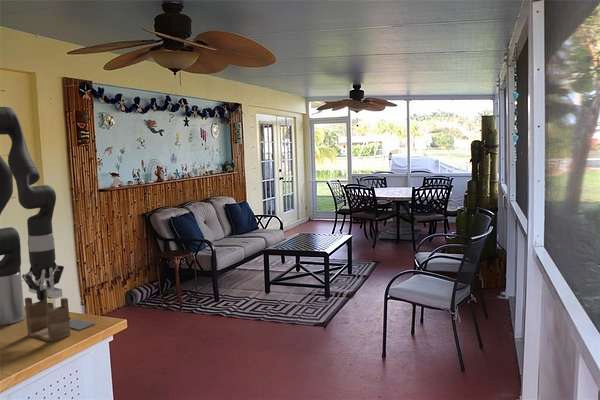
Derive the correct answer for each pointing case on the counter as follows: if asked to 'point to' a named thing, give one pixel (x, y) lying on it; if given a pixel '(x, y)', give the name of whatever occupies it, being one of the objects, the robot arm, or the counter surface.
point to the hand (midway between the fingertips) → (45, 299)
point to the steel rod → (49, 291)
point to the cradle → (47, 319)
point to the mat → (80, 324)
